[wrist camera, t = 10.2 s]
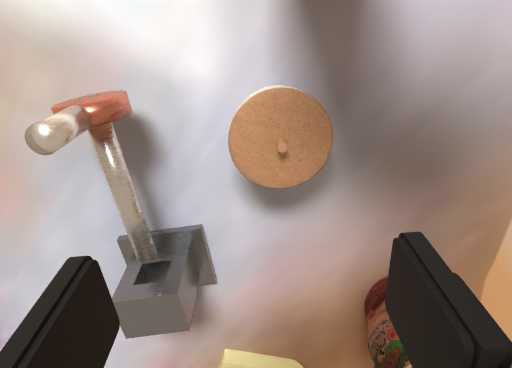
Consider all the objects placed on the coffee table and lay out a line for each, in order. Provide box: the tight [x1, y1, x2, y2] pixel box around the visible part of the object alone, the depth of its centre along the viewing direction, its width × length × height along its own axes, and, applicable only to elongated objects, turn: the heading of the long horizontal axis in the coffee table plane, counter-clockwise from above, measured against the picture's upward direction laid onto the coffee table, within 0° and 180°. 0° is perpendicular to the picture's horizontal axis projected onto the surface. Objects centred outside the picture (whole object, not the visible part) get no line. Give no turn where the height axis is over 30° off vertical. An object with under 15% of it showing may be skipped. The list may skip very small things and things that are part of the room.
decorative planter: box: [365, 277, 412, 368], centre depth 49 cm, size 20×12×14 cm, turn 164°
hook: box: [25, 91, 157, 263], centre depth 35 cm, size 20×7×13 cm, turn 9°
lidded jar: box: [228, 85, 333, 189], centre depth 37 cm, size 11×11×9 cm
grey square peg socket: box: [112, 224, 216, 339], centre depth 45 cm, size 10×12×11 cm
